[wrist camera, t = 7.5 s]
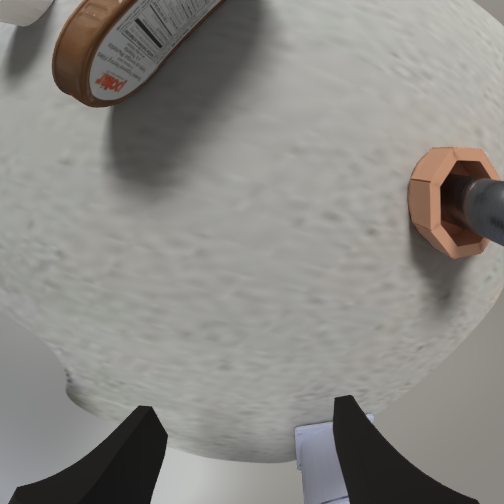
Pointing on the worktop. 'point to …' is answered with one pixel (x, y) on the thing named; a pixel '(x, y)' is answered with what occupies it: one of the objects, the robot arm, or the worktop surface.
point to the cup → (428, 198)
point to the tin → (121, 45)
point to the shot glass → (22, 11)
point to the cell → (474, 205)
